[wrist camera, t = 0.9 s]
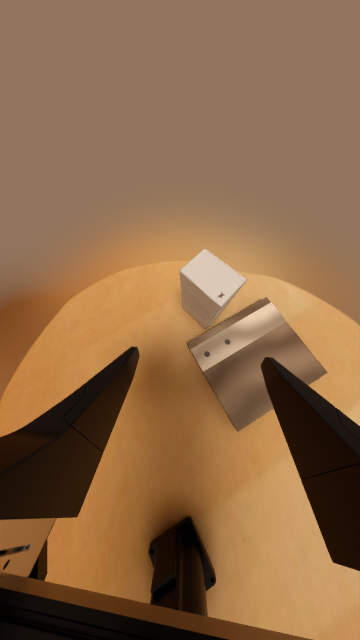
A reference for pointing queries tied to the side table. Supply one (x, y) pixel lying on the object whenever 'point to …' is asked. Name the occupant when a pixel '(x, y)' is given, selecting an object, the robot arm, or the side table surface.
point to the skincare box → (208, 287)
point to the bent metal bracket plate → (251, 359)
